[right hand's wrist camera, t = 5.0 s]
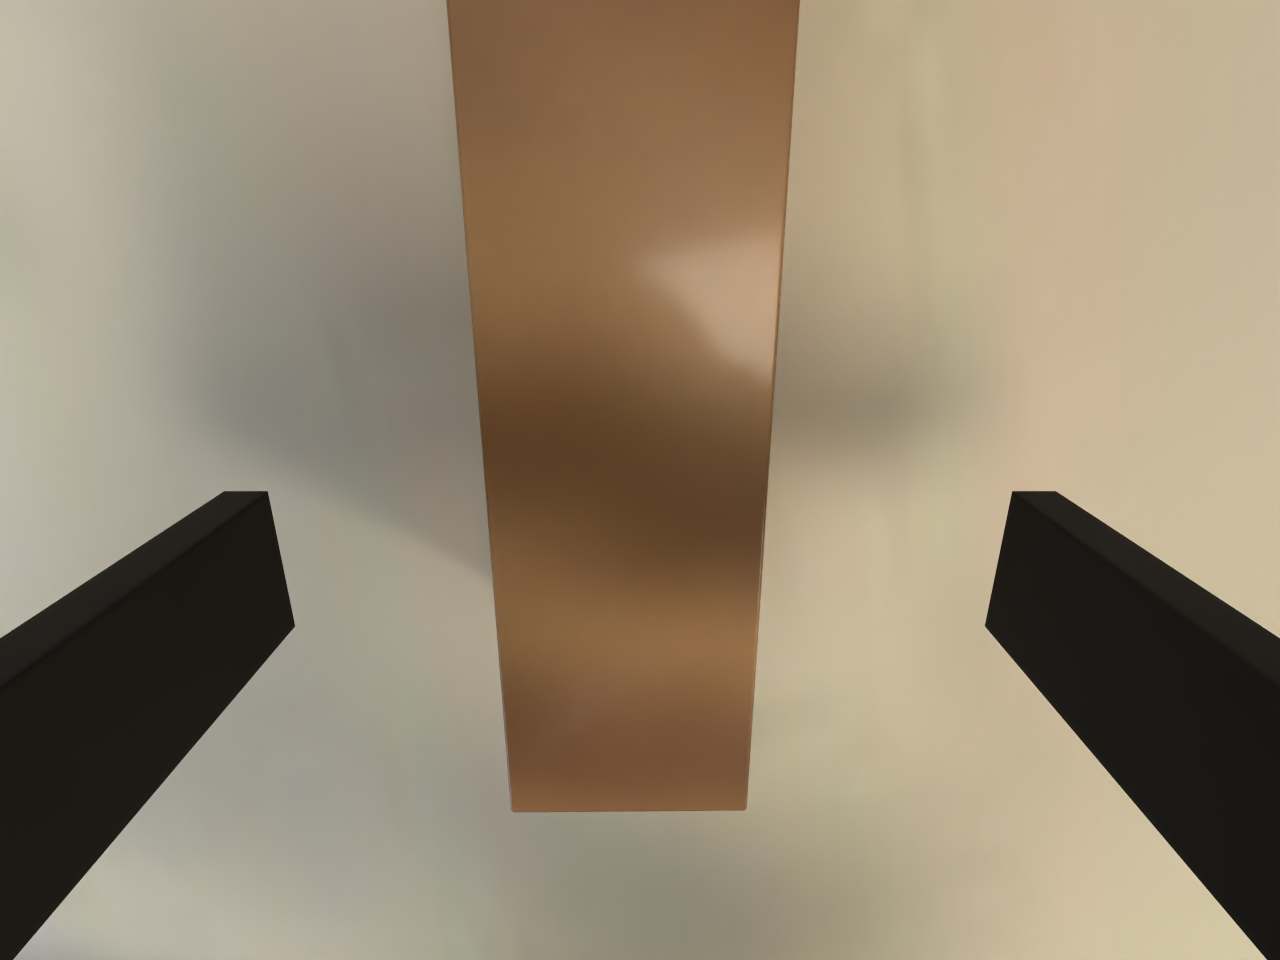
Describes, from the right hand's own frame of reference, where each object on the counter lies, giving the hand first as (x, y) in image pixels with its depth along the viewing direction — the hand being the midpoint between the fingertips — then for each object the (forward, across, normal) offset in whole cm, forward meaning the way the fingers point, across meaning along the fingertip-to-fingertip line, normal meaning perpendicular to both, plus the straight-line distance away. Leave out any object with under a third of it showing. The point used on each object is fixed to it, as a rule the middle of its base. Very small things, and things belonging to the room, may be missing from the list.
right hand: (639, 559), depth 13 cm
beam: (+8, 0, -21) cm, 22 cm away
